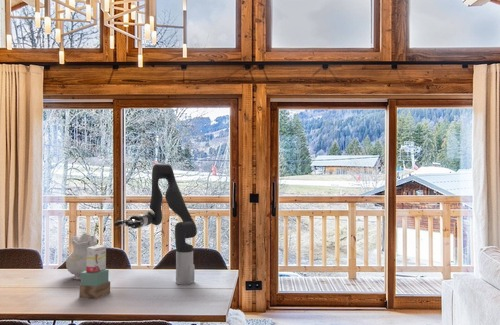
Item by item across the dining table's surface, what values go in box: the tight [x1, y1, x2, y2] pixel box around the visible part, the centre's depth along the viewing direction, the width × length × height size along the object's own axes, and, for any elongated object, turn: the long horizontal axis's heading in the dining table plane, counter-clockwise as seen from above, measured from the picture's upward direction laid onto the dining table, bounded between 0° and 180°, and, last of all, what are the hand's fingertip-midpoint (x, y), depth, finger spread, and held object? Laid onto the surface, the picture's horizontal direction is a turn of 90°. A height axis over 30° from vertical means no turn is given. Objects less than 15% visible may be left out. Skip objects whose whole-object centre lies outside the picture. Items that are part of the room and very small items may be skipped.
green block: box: [80, 268, 110, 287], centre depth 192 cm, size 9×9×6 cm
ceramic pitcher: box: [65, 232, 98, 281], centre depth 224 cm, size 22×20×25 cm
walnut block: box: [78, 280, 111, 300], centre depth 193 cm, size 10×10×6 cm
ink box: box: [86, 244, 107, 273], centre depth 193 cm, size 9×5×12 cm, turn 158°
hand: (121, 224), depth 213 cm, fingers open, 8 cm apart
